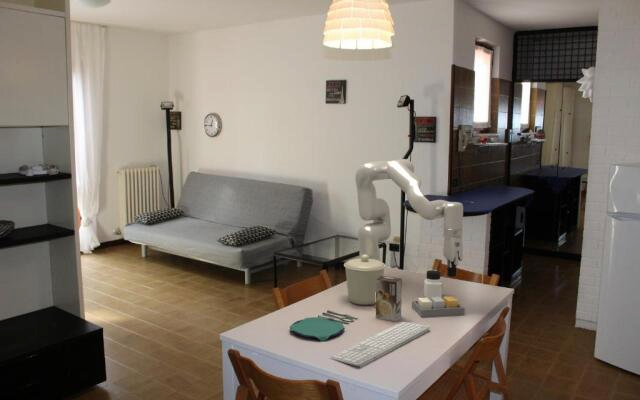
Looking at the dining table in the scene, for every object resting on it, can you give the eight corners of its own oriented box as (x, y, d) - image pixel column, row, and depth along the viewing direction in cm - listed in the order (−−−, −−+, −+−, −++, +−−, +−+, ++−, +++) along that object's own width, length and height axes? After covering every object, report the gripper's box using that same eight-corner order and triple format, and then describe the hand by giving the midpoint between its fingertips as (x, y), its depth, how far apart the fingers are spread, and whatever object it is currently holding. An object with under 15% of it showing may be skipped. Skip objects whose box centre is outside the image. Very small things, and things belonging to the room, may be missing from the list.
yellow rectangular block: (448, 308, 228) (448, 300, 228) (443, 303, 234) (443, 296, 233) (457, 307, 229) (457, 300, 229) (452, 303, 234) (452, 296, 234)
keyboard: (402, 324, 218) (402, 318, 218) (430, 332, 210) (430, 326, 209) (328, 359, 185) (328, 352, 185) (358, 370, 177) (358, 363, 177)
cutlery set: (280, 333, 207) (280, 327, 206) (324, 312, 231) (324, 307, 231) (324, 346, 196) (324, 340, 195) (366, 322, 220) (366, 316, 220)
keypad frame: (421, 317, 224) (421, 310, 223) (411, 307, 235) (412, 300, 235) (463, 315, 226) (464, 308, 226) (452, 305, 238) (452, 298, 238)
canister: (373, 293, 255) (374, 248, 252) (392, 305, 238) (393, 257, 235) (337, 297, 248) (337, 251, 246) (354, 310, 232) (354, 261, 229)
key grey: (435, 308, 227) (435, 301, 227) (430, 304, 233) (430, 297, 233) (444, 308, 228) (444, 301, 228) (439, 303, 234) (439, 296, 233)
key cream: (422, 309, 227) (422, 302, 226) (417, 304, 232) (417, 298, 232) (431, 308, 227) (431, 301, 227) (426, 304, 233) (427, 297, 232)
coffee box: (402, 316, 224) (402, 278, 222) (396, 321, 219) (397, 282, 216) (380, 313, 229) (381, 275, 226) (374, 318, 223) (375, 279, 221)
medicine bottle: (442, 299, 247) (443, 273, 245) (426, 299, 247) (426, 272, 245) (439, 294, 254) (440, 268, 252) (423, 294, 254) (424, 268, 252)
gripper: (469, 235, 220) (467, 280, 223) (454, 228, 235) (453, 271, 237) (451, 236, 219) (449, 281, 222) (437, 229, 234) (436, 272, 236)
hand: (451, 276), depth 229 cm, fingers closed
